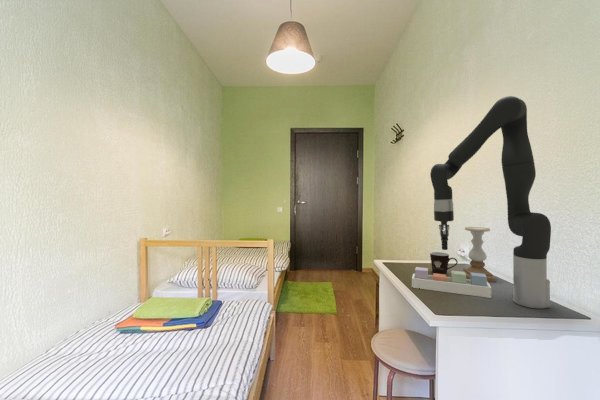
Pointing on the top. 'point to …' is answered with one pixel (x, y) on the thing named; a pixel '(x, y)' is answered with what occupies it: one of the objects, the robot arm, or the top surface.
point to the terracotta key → (439, 277)
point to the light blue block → (478, 279)
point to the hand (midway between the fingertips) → (444, 249)
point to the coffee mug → (440, 262)
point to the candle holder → (477, 254)
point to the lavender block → (421, 273)
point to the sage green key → (458, 277)
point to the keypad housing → (452, 286)
